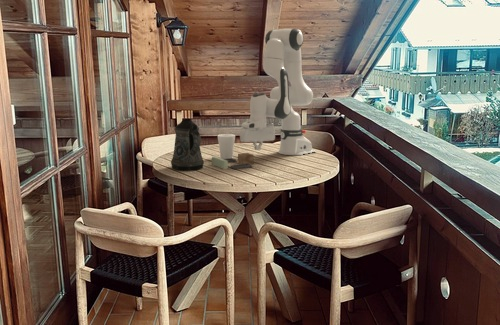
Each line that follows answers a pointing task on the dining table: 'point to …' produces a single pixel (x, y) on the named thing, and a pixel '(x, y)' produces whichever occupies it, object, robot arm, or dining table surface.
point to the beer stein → (187, 147)
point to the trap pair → (238, 165)
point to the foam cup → (226, 145)
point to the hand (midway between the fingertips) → (257, 149)
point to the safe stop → (220, 162)
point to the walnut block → (245, 158)
